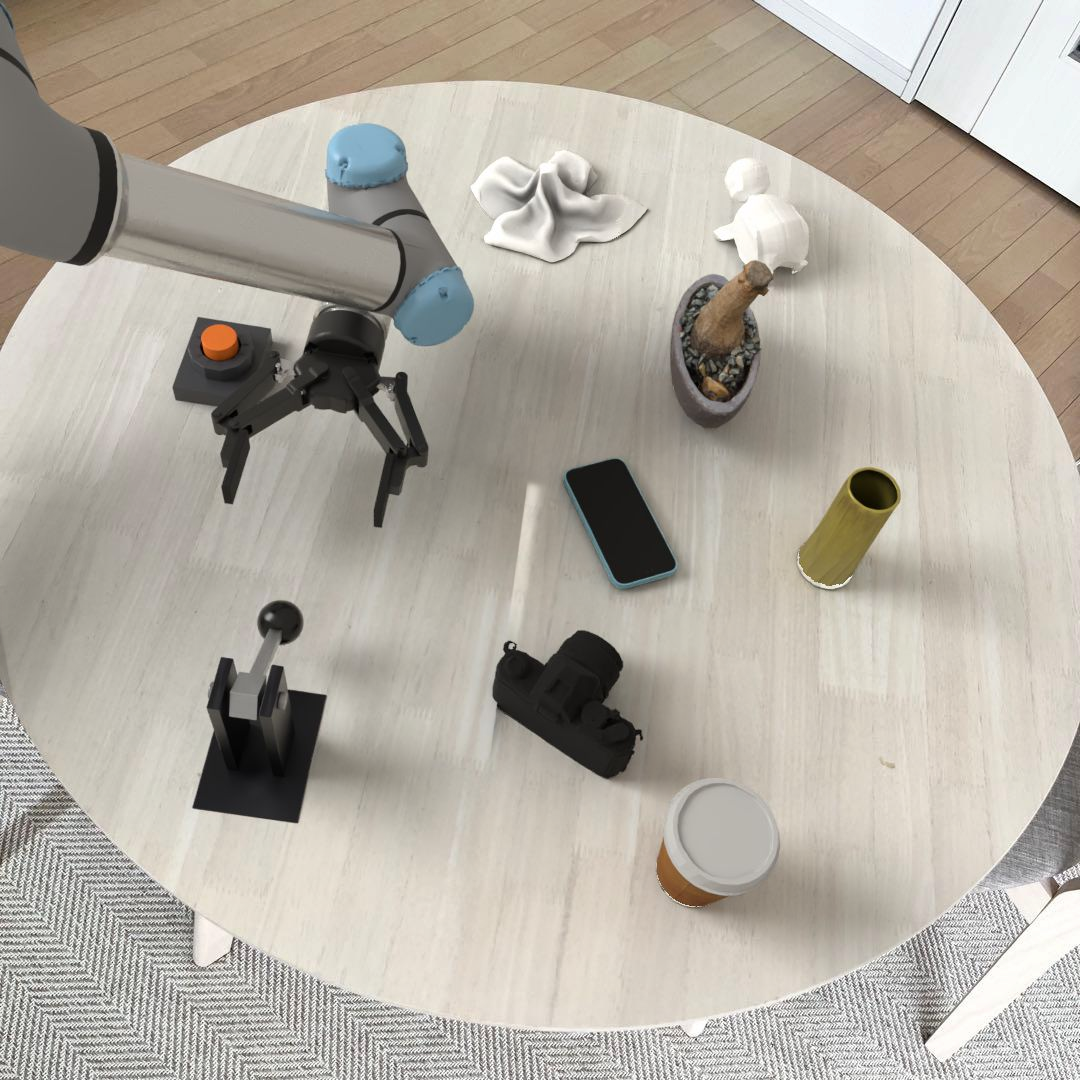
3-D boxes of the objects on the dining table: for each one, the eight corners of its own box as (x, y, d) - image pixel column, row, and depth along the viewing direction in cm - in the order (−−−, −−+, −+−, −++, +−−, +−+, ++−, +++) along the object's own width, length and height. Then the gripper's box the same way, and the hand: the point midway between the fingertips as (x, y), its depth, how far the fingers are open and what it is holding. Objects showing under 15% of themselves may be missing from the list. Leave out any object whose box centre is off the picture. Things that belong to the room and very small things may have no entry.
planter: (697, 468, 123) (747, 346, 106) (603, 365, 129) (637, 234, 112) (794, 412, 129) (856, 288, 112) (701, 316, 135) (746, 185, 118)
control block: (175, 400, 120) (169, 376, 116) (200, 330, 125) (195, 304, 121) (250, 412, 120) (247, 388, 116) (272, 341, 125) (269, 316, 122)
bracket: (229, 686, 104) (208, 610, 91) (326, 700, 104) (319, 627, 92) (193, 812, 97) (166, 750, 85) (298, 827, 98) (285, 767, 85)
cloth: (497, 273, 135) (501, 235, 129) (449, 169, 143) (451, 128, 138) (666, 242, 141) (677, 204, 135) (610, 144, 149) (619, 104, 144)
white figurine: (794, 281, 144) (751, 174, 145) (827, 252, 136) (782, 140, 137) (737, 297, 141) (694, 188, 143) (767, 268, 133) (722, 153, 135)
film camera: (664, 713, 107) (685, 674, 100) (610, 793, 103) (628, 758, 95) (533, 626, 111) (544, 581, 103) (475, 699, 106) (482, 658, 98)
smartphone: (622, 455, 122) (681, 569, 114) (620, 461, 122) (679, 574, 115) (560, 471, 119) (617, 588, 112) (559, 477, 120) (615, 593, 113)
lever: (262, 626, 102) (264, 588, 100) (306, 632, 102) (309, 595, 100) (217, 722, 89) (218, 681, 87) (267, 730, 89) (269, 689, 88)
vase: (783, 560, 118) (829, 483, 106) (821, 530, 121) (870, 452, 109) (827, 601, 116) (879, 527, 104) (864, 569, 119) (919, 494, 107)
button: (199, 358, 118) (197, 347, 117) (208, 332, 120) (206, 321, 119) (233, 363, 118) (231, 352, 117) (242, 338, 120) (240, 327, 119)
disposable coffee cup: (631, 915, 97) (661, 878, 87) (643, 809, 102) (672, 762, 92) (740, 936, 97) (782, 902, 87) (746, 829, 102) (787, 784, 92)
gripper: (469, 377, 117) (437, 550, 106) (228, 337, 116) (170, 508, 104) (475, 327, 111) (441, 506, 99) (219, 285, 109) (156, 461, 98)
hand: (302, 508), depth 102 cm, fingers open, 13 cm apart
